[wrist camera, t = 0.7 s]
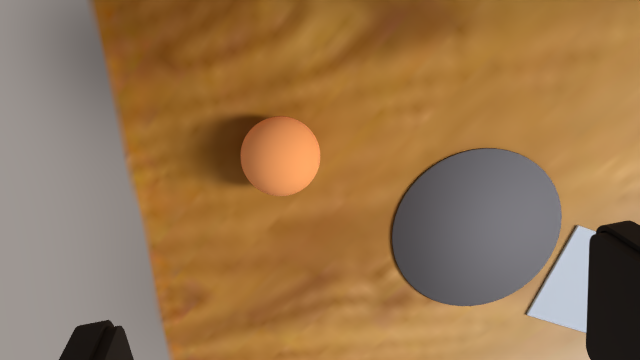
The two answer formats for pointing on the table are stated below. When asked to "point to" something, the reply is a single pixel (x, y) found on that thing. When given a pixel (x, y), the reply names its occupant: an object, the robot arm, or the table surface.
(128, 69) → the table surface
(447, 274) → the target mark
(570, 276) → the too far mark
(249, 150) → the ball
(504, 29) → the table surface
